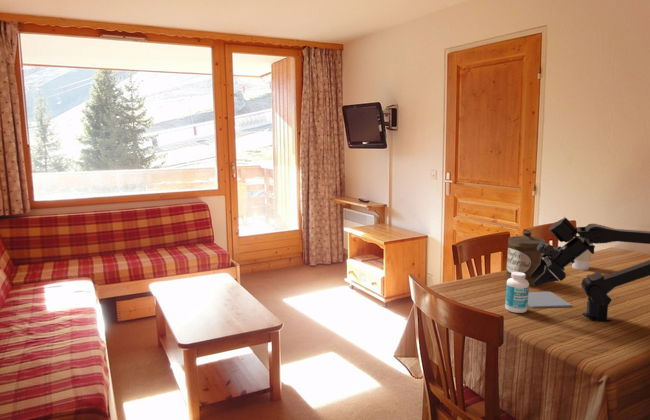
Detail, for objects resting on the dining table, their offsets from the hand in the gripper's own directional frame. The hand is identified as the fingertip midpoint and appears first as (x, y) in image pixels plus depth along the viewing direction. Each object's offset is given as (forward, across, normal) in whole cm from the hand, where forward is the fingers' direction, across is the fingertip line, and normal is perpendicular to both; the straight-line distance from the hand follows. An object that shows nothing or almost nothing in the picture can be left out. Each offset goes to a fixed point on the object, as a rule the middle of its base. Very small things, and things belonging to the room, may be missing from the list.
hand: (532, 280), depth 166 cm
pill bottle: (+12, 0, +5) cm, 13 cm away
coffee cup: (-12, -66, +28) cm, 72 cm away
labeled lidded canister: (+7, -38, +9) cm, 39 cm away
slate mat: (+4, -13, +12) cm, 18 cm away
